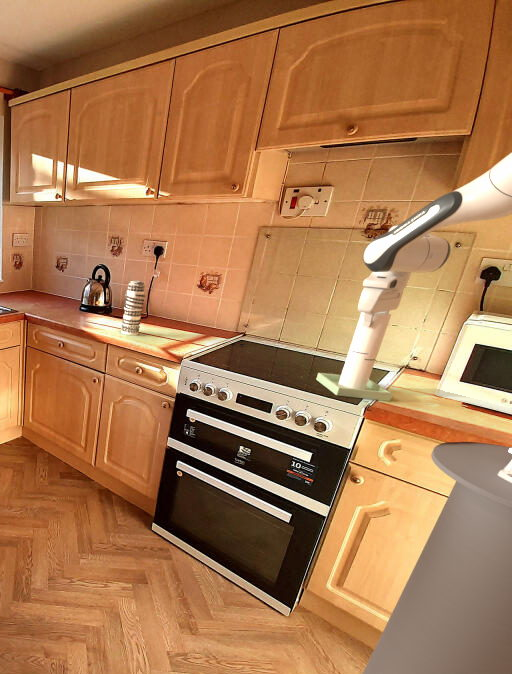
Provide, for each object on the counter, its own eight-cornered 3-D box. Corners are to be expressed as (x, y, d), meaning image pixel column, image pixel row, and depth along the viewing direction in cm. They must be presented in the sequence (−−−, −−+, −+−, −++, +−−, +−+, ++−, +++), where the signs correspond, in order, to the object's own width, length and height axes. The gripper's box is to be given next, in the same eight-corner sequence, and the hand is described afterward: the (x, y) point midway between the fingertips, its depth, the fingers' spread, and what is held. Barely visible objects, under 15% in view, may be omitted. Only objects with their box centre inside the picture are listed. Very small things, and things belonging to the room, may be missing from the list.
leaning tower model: (140, 332, 210) (148, 280, 201) (138, 336, 202) (146, 282, 193) (121, 329, 213) (128, 279, 204) (118, 333, 205) (125, 281, 196)
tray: (390, 401, 132) (393, 393, 131) (336, 395, 135) (339, 387, 134) (363, 384, 146) (366, 377, 145) (316, 379, 149) (318, 372, 148)
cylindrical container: (337, 382, 145) (360, 310, 136) (363, 387, 141) (389, 313, 132) (338, 388, 139) (362, 313, 131) (365, 393, 136) (392, 316, 127)
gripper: (389, 278, 135) (374, 320, 140) (361, 280, 126) (345, 326, 131) (414, 280, 130) (398, 324, 135) (387, 283, 121) (370, 330, 126)
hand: (372, 325), depth 133 cm, fingers closed on cylindrical container, 7 cm apart
